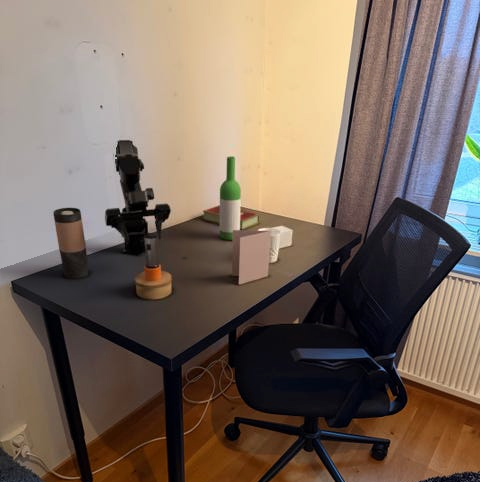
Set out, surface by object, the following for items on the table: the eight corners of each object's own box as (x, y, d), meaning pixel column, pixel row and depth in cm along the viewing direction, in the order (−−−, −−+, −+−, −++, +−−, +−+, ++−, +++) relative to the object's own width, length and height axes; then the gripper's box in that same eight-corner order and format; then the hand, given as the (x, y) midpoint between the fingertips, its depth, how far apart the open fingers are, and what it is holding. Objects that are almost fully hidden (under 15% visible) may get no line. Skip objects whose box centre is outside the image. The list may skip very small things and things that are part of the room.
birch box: (129, 295, 126) (127, 281, 124) (148, 281, 135) (146, 267, 133) (161, 302, 123) (160, 287, 121) (178, 287, 132) (177, 273, 130)
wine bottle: (243, 236, 172) (246, 156, 158) (232, 242, 167) (234, 160, 152) (226, 232, 176) (227, 154, 162) (215, 238, 170) (215, 157, 156)
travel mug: (94, 271, 140) (86, 209, 131) (79, 280, 134) (69, 216, 124) (74, 267, 142) (64, 206, 133) (58, 276, 136) (46, 213, 126)
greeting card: (267, 274, 141) (270, 229, 134) (269, 285, 135) (272, 238, 128) (231, 274, 141) (232, 229, 134) (232, 284, 134) (233, 237, 127)
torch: (148, 273, 129) (145, 231, 123) (163, 274, 129) (161, 232, 123) (142, 279, 125) (139, 236, 119) (158, 281, 125) (155, 238, 119)
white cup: (272, 265, 148) (274, 237, 143) (251, 260, 152) (253, 232, 147) (282, 258, 154) (285, 230, 149) (263, 253, 158) (264, 226, 153)
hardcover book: (220, 213, 199) (220, 204, 197) (258, 223, 188) (259, 213, 186) (202, 219, 190) (202, 210, 188) (242, 230, 179) (242, 220, 177)
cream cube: (281, 240, 170) (282, 225, 167) (291, 245, 166) (292, 230, 163) (268, 243, 167) (269, 228, 164) (279, 248, 162) (280, 232, 160)
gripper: (101, 180, 122) (113, 231, 118) (167, 176, 129) (180, 224, 125) (100, 201, 132) (111, 249, 128) (161, 196, 139) (173, 241, 135)
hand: (144, 240), depth 129 cm, fingers open, 9 cm apart
